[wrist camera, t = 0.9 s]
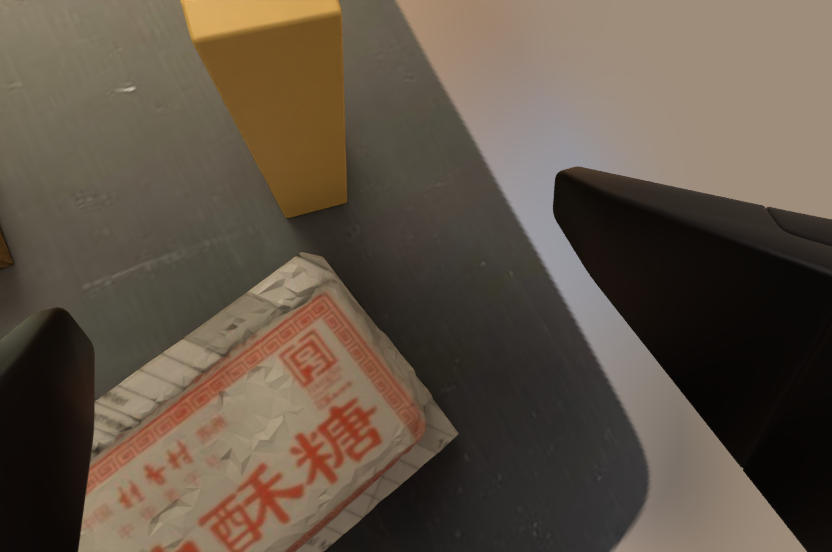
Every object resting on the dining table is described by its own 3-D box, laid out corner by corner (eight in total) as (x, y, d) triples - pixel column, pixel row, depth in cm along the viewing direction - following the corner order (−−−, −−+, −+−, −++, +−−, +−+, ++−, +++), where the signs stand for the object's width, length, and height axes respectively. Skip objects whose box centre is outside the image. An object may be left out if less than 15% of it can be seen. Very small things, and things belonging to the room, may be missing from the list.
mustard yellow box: (347, 203, 22) (342, 12, 9) (285, 219, 22) (191, 42, 9) (318, 104, 22) (274, -209, 10) (256, 118, 22) (126, -192, 9)
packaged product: (305, 221, 17) (485, 453, 17) (315, 247, 22) (455, 428, 21) (-232, 603, 14) (-16, 899, 13) (-81, 535, 18) (80, 752, 18)
